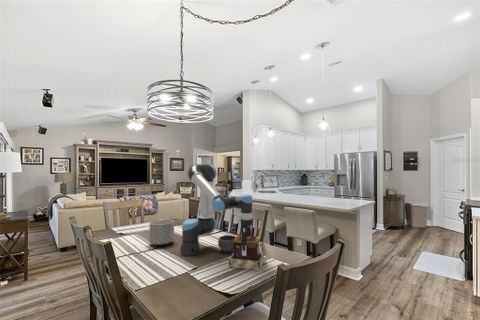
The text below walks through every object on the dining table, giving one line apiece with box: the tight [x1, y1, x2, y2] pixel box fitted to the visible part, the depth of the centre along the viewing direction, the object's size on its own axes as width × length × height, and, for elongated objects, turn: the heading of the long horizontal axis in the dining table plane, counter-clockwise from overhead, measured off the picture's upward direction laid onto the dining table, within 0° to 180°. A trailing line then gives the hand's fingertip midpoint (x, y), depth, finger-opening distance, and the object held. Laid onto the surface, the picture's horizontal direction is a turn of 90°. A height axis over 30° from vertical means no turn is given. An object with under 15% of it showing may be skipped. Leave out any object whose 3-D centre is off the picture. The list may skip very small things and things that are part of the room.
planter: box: [148, 218, 175, 247], centre depth 198 cm, size 19×19×18 cm
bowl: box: [217, 234, 237, 253], centre depth 182 cm, size 15×15×10 cm
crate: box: [228, 252, 265, 271], centre depth 158 cm, size 20×15×5 cm
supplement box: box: [233, 234, 260, 261], centre depth 158 cm, size 10×15×16 cm
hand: (246, 251), depth 158 cm, fingers open, 13 cm apart
